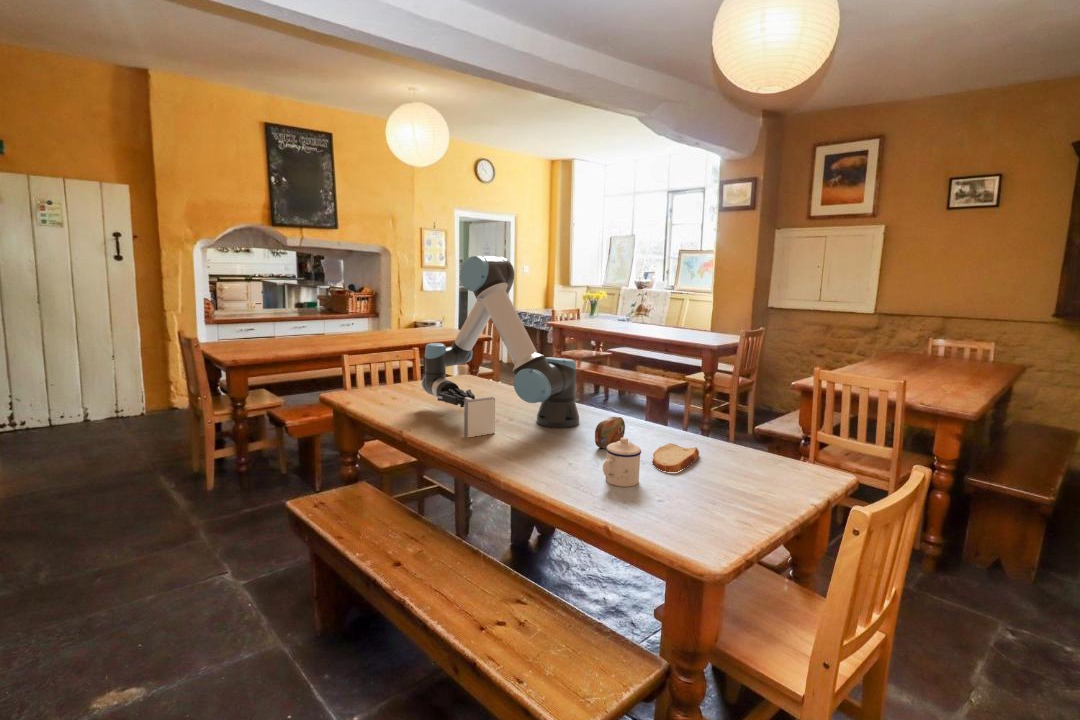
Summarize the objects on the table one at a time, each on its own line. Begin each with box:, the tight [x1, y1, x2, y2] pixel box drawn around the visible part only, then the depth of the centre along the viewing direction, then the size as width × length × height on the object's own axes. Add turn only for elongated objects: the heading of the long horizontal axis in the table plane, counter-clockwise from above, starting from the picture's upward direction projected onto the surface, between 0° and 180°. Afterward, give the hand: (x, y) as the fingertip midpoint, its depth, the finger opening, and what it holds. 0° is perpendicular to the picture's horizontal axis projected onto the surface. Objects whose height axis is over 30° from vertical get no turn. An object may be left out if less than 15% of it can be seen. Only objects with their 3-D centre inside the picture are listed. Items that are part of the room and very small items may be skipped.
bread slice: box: [651, 443, 700, 472], centre depth 163 cm, size 18×18×4 cm
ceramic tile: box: [463, 396, 496, 439], centre depth 181 cm, size 2×10×12 cm, turn 123°
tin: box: [594, 416, 626, 450], centre depth 175 cm, size 15×3×8 cm, turn 143°
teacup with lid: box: [602, 437, 642, 488], centre depth 145 cm, size 12×9×12 cm
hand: (475, 405), depth 182 cm, fingers closed
